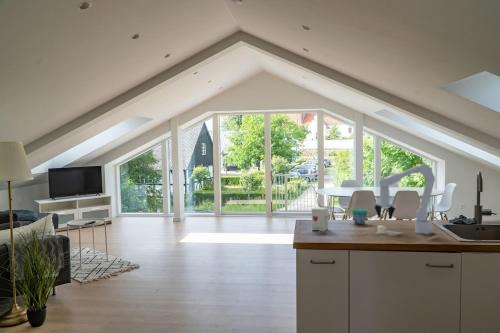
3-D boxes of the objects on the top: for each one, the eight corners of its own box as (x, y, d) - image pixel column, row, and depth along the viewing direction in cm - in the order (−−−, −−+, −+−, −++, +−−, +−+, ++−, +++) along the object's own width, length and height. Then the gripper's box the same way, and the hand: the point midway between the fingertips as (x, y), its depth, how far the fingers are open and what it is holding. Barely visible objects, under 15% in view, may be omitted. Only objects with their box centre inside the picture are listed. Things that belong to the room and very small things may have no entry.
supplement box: (311, 230, 286) (311, 208, 285) (315, 228, 294) (315, 206, 293) (324, 231, 281) (324, 209, 281) (328, 229, 289) (328, 207, 289)
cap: (387, 232, 266) (387, 226, 266) (383, 234, 262) (383, 227, 262) (380, 231, 270) (380, 225, 269) (376, 233, 266) (376, 226, 266)
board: (403, 235, 265) (403, 228, 265) (393, 238, 257) (393, 231, 257) (384, 232, 275) (384, 225, 275) (374, 235, 266) (373, 228, 266)
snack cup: (372, 223, 309) (372, 209, 309) (368, 225, 300) (368, 211, 300) (351, 221, 317) (351, 208, 317) (346, 224, 308) (346, 210, 308)
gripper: (371, 196, 276) (371, 217, 277) (392, 198, 266) (392, 220, 266) (377, 195, 281) (377, 216, 282) (397, 197, 271) (397, 218, 271)
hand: (384, 218), depth 274 cm, fingers open, 7 cm apart
